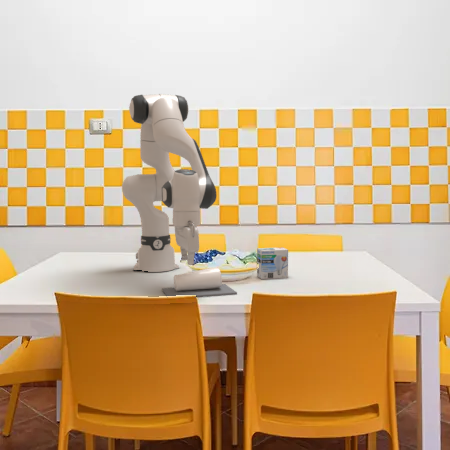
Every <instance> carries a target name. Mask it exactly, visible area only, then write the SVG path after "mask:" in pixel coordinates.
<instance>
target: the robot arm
mask: <svg viewBox="0 0 450 450" xmlns="http://www.w3.org/2000/svg"><path fill="white" fill-rule="evenodd" d="M128 106H129V107H128V108H129V109H128V110H129V114H130V118H131V120H132V121H133V122H134V123H136V124H140V125H141V126H140V140H139V141H140V145H139V146H140V147H139V148H140V150H139V151H140V159H141V162H143V163H144V164H146V165H147V166H149V167H151V168H154V170H155V173H150V174H149V173H148V174H144V173H143V174H142V173H141V174H133V175H129V176H126V177H125V178H124V180H123V181H122V185H121V192H122V194H123V197H124V198H125V199H126V200H127V201H129V202H130V203H131V204H132V205H133V206H134V207H135V208H136V210H137V212H138V214H139V217H140V224H141V235H140V244H141V246H140V248H138V250H137V252H136V253H135V259H136V263H135V265H134V266H133V268H132V270H133V269H134V270H142V271H141V272H144V271H148V272H147V273H160V272H162V273H163V272H169V271H173V270H176V269H179V268H180V265H178V264H176V258H175V257H176V256H175V248H174V247H173V246H172V245H171V239H172V238H171V235H170V219H169V215H168V214H167V213H166V212H165V211H162V210H161V209H158V208H156V207H155V206H154V203H155V202H162V203H163V204H164V205H165V206H166V207H167V208H170V209H172V225H173V227H174V234H175V235H174V236H175V242H176V243H175V244H176V245H177V246H179V247H180V255H181V260H182V261H187V262H186V263H187V265H188V266H194V264H195V262H194V260H195V255H196V252H197V253H198V252H199V251H200V236H199V229H198V227H199V226H200V225H201V209H204V210H207V209H209V208H210V207H212V206H213V204H214V203H215V202H216V200H217V189H216V186H215V184H214V182H213V180H212V178H211V177H210V173H209V171H208V168H207V165H206V163H205V159H204V157H203V154H202V152H201V150H200V147H199V145H198V142H197V141H196V140H195V139H194V138H192V137H191V136H190V135H189V133H188V132H187V130H186V129H185V125H184V122H185V121H186V120H187V118H188V115H189V104H188V100H187V99H186V98H185V97H184V96H182V95H177V94H175V95H173V94H165V93H163V94H162V93H158V94H145V95H144V94H138V95H134V96H133V97H132V98H131V100H130V103H129V105H128ZM170 154H173V155H176V156H179V157H181V158H183V159H184V160H186V161H187V162H188V164H189V166H190V167H191V169H189V168H187V169H185V168H184V169H183V168H181V169H177V170H175V169H174V167H173V166H172V163H171V160H170V159H171V158H170Z"/></svg>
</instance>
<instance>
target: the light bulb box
mask: <svg viewBox="0 0 450 450" xmlns="http://www.w3.org/2000/svg"><path fill="white" fill-rule="evenodd" d="M257 263H258V264H259V268H258V269H257V268H256V276H257V277H258V278H259V279H261V280H271V279H272V280H273V279H276V280H277V279H288V278H289V249H287V248H285V247H282V246H281V247H264V248H263V247H262V248H261V247H260V248H259V247H257V249H256V264H257Z"/></svg>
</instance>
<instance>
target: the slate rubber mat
mask: <svg viewBox="0 0 450 450" xmlns="http://www.w3.org/2000/svg"><path fill="white" fill-rule="evenodd" d="M161 290H163V291H162V293H164V295H165V294H166V295H165V296H166V297H167V296H176V295H196V296H197V297H196V298H202V297H203V296H207V297H218V296H231V295H232V296H233V295H237V294H238V292H237V291H236V290H234V289H233V288H232V287H230V286H229V285H227V284H226V283H222V285H221V287H219V288H213V289H202V290H185V291H176V290H175V287H164V288H161ZM203 298H204V297H203Z"/></svg>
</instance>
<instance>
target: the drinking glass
mask: <svg viewBox="0 0 450 450" xmlns="http://www.w3.org/2000/svg"><path fill="white" fill-rule="evenodd" d="M222 284H223V278H222V273H221V269H220V268H219V267H211V268H210V267H209V268H203V269H200V270H194V271H190V272H186V273H180V274H174V277H173V285H174V288H175V290H176V291H185V290H202V289H213V288H219V287H221V285H222Z"/></svg>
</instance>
